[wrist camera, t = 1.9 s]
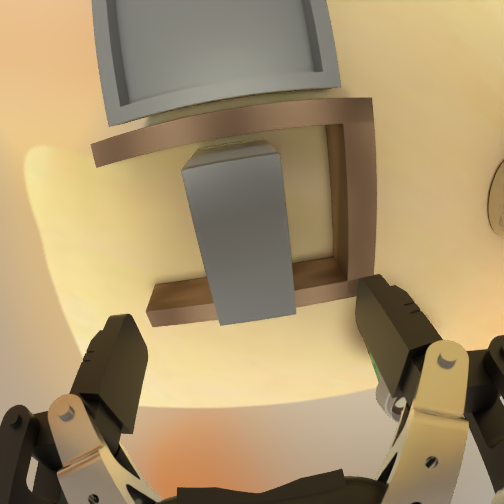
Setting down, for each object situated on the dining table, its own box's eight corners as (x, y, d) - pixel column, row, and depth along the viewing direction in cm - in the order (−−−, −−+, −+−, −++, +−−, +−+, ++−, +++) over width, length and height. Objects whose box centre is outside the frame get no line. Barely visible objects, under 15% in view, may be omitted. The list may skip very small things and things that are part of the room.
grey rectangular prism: (263, 138, 19) (279, 153, 13) (279, 256, 23) (296, 314, 17) (198, 148, 19) (181, 170, 13) (222, 265, 23) (220, 325, 17)
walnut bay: (349, 98, 18) (371, 97, 14) (356, 268, 24) (371, 292, 21) (112, 137, 18) (90, 144, 15) (160, 299, 24) (152, 327, 21)
